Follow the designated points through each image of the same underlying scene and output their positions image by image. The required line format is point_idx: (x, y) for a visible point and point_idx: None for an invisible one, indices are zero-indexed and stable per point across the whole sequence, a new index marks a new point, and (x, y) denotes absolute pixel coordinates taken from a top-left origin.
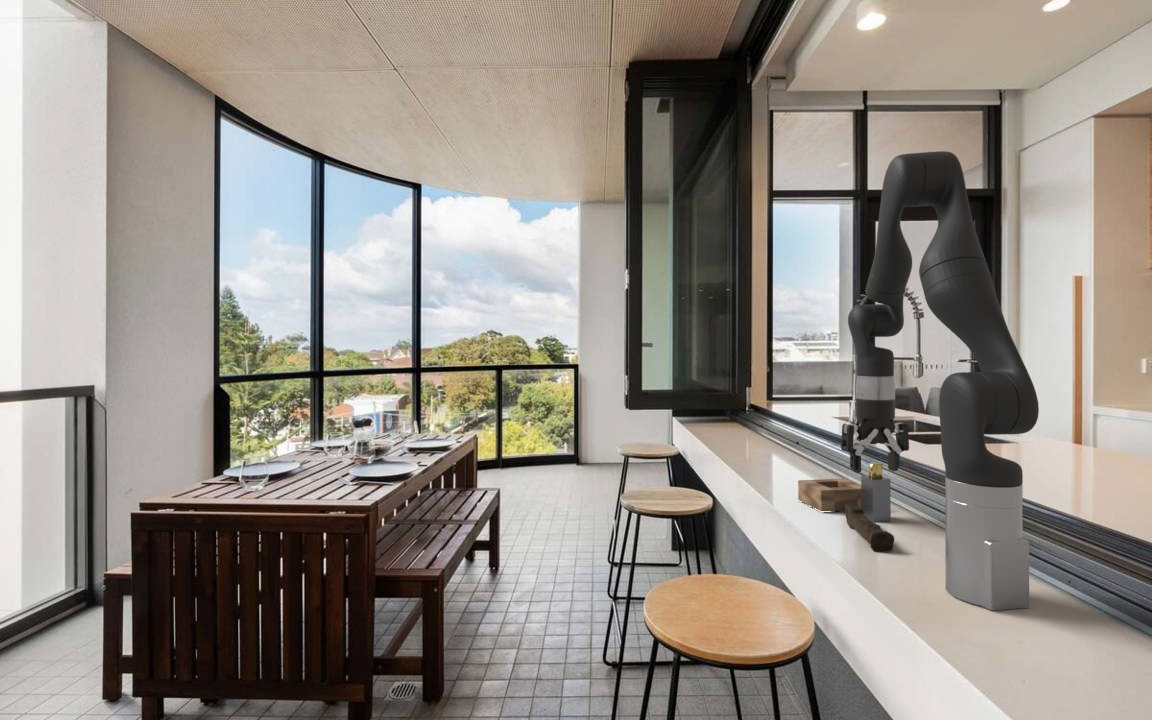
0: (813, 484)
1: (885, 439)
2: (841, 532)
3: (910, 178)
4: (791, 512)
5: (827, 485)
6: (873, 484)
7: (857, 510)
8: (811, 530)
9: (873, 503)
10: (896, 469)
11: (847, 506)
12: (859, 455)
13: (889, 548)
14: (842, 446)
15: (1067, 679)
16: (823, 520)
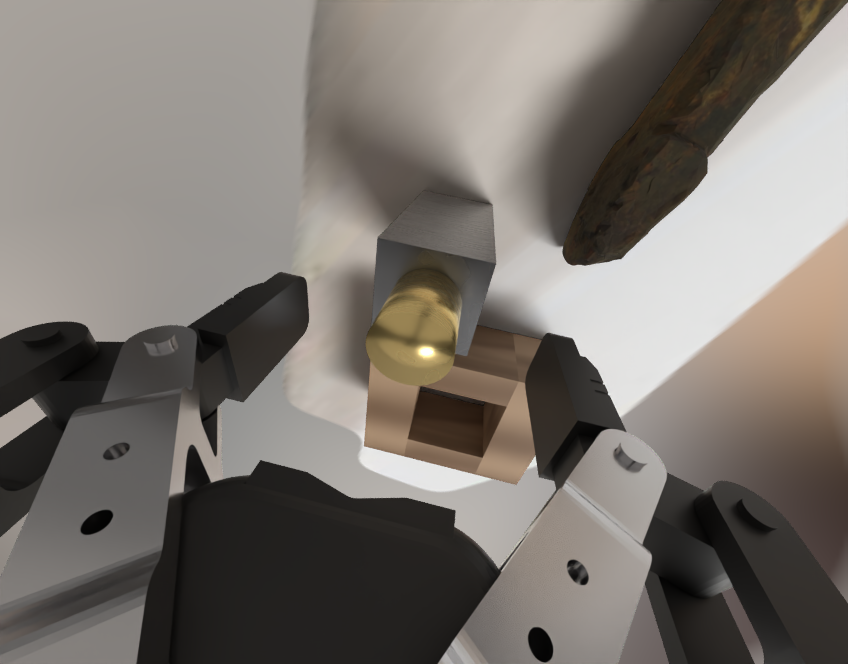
0: (517, 446)
1: (207, 519)
2: (753, 133)
3: None
4: (638, 377)
5: (442, 436)
6: (493, 252)
7: (693, 145)
8: (831, 204)
9: (491, 223)
10: (288, 274)
11: (651, 228)
12: (572, 434)
13: None
14: (719, 594)
15: None
16: (637, 284)
